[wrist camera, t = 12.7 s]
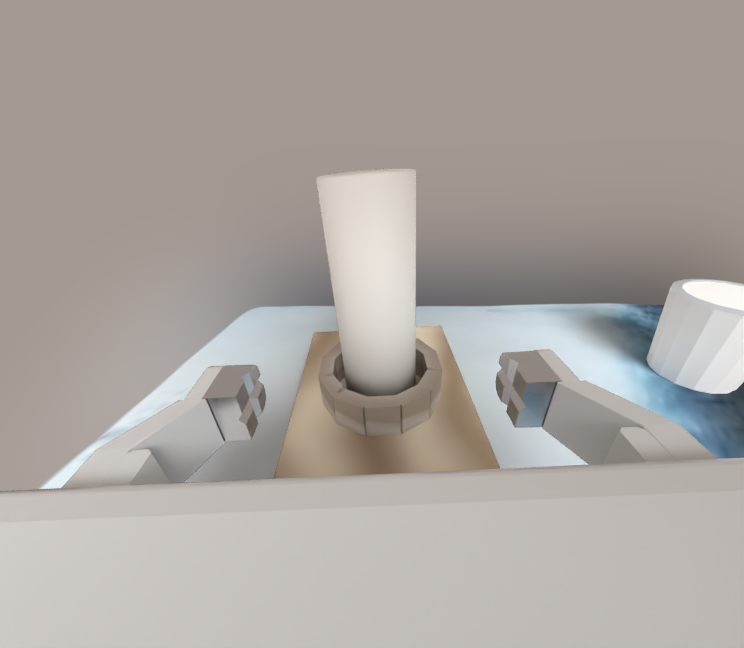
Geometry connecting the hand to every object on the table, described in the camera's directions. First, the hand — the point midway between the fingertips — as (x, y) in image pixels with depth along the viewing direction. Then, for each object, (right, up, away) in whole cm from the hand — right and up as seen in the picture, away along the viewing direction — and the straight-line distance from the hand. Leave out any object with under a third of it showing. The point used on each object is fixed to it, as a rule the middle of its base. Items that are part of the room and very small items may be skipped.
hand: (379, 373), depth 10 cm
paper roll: (+1, -3, +13) cm, 14 cm away
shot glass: (+27, -2, +16) cm, 31 cm away
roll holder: (+1, -5, +14) cm, 15 cm away
